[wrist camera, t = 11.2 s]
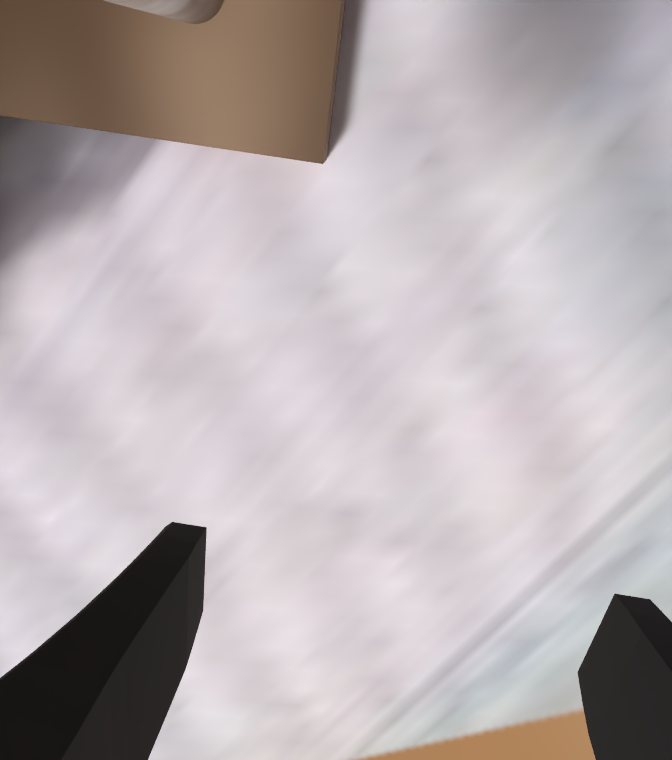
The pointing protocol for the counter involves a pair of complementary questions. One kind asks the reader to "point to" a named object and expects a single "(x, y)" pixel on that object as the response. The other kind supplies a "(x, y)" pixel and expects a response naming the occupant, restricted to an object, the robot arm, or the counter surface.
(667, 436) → the counter surface
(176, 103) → the stake board
